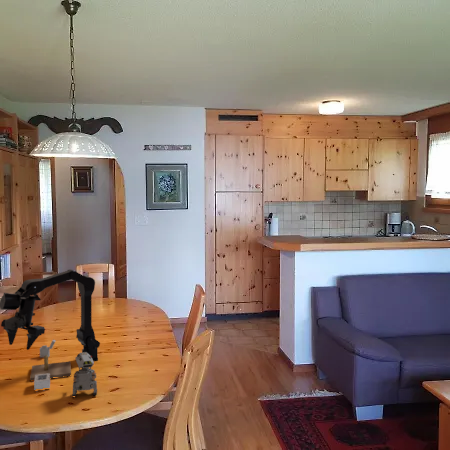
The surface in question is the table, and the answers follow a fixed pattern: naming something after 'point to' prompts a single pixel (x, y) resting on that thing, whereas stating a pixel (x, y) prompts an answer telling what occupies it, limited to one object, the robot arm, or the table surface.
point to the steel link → (42, 381)
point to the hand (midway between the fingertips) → (19, 347)
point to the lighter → (46, 349)
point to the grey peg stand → (51, 369)
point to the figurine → (84, 374)
